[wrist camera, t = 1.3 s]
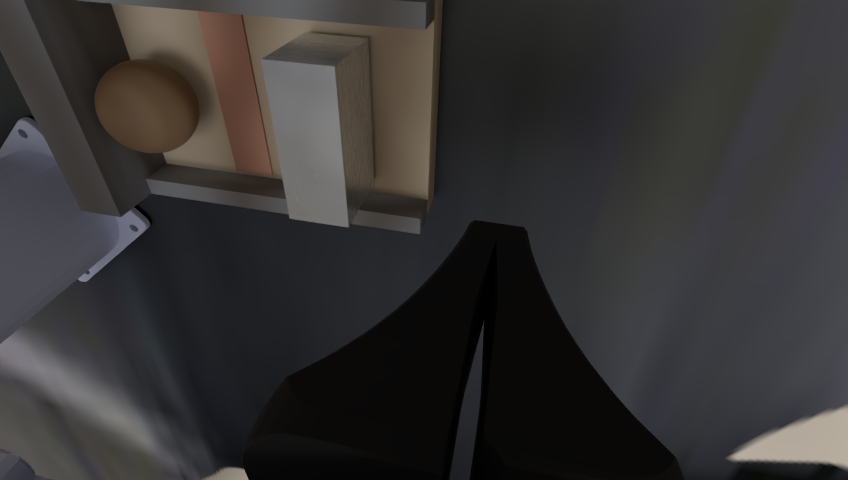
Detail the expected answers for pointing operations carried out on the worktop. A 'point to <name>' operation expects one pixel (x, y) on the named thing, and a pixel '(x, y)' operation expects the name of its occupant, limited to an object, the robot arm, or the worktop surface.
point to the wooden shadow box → (215, 97)
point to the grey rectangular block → (322, 125)
